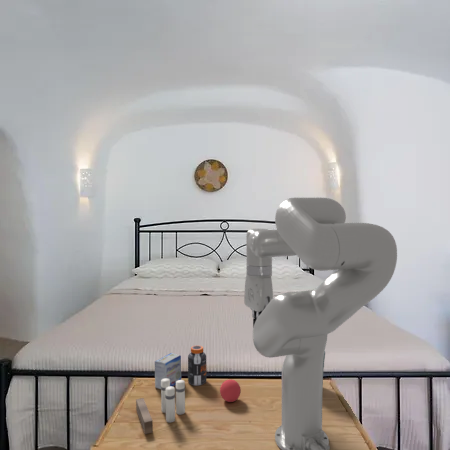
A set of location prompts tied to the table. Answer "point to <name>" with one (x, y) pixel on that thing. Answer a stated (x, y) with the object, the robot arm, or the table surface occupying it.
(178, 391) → the front pin
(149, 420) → the back wall
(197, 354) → the pill bottle
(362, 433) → the table surface
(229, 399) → the ball
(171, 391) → the pin
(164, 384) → the pin
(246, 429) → the table surface
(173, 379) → the medicine box
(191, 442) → the table surface
